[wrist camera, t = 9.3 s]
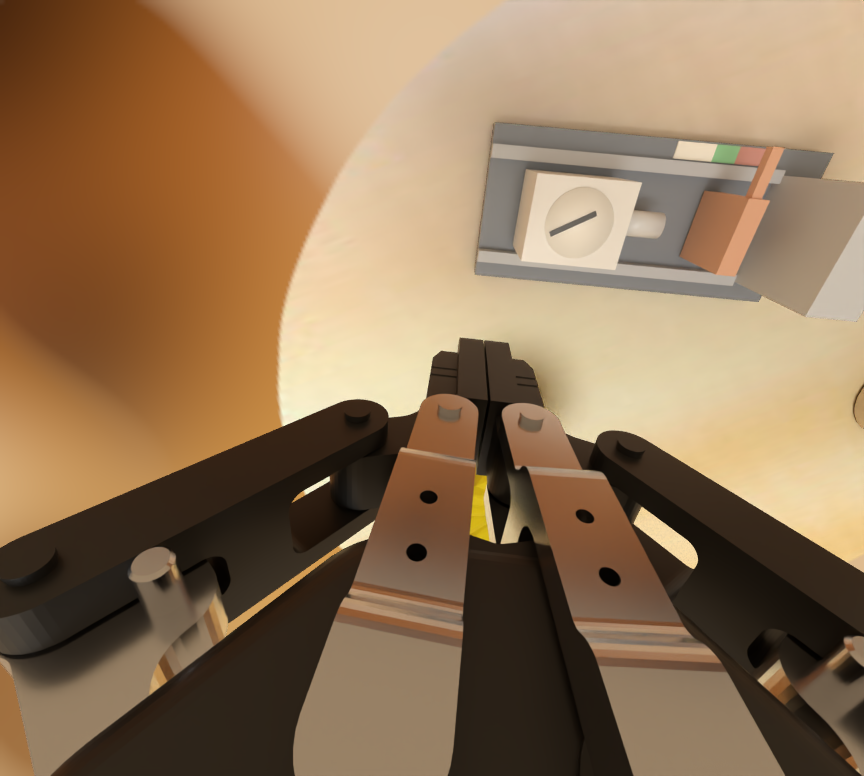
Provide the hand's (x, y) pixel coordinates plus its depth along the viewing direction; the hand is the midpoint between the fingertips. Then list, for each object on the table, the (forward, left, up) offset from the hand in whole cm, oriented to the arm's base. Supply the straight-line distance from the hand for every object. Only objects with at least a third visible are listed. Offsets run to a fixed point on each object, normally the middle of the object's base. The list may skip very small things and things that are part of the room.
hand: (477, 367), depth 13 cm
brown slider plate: (-16, -4, -20) cm, 26 cm away
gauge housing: (-8, -2, -20) cm, 22 cm away
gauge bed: (-12, -3, -22) cm, 25 cm away
